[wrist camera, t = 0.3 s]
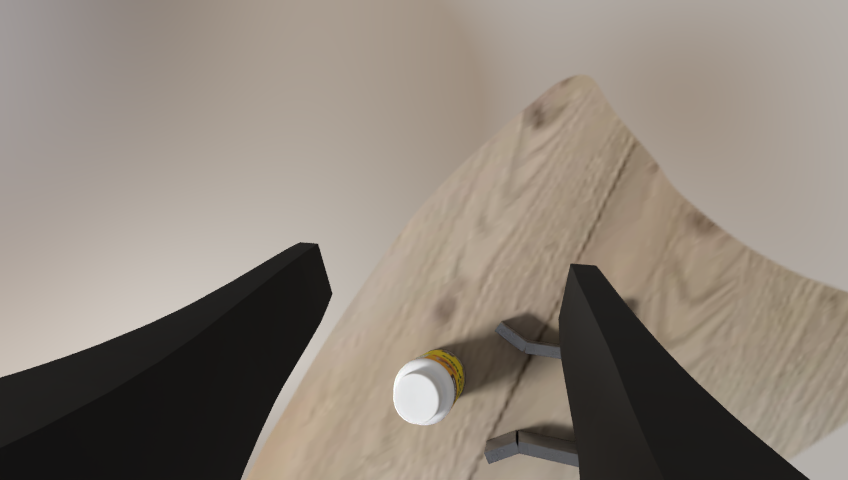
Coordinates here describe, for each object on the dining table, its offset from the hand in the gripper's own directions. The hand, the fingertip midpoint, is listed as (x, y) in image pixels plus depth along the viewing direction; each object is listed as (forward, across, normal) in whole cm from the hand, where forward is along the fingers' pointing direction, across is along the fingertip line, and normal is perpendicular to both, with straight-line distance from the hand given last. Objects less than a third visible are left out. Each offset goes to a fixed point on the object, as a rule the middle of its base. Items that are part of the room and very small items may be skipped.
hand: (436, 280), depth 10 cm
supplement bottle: (+15, +4, +27) cm, 32 cm away
